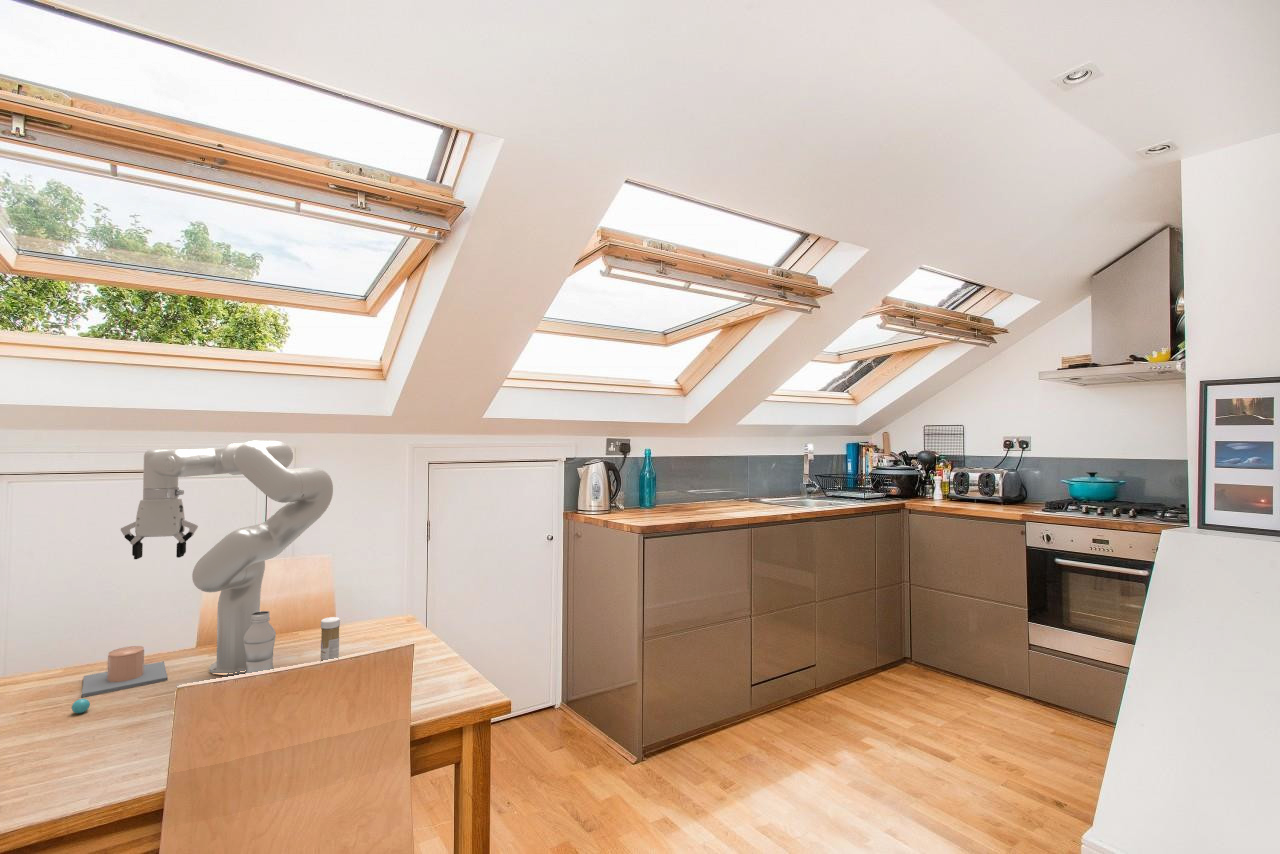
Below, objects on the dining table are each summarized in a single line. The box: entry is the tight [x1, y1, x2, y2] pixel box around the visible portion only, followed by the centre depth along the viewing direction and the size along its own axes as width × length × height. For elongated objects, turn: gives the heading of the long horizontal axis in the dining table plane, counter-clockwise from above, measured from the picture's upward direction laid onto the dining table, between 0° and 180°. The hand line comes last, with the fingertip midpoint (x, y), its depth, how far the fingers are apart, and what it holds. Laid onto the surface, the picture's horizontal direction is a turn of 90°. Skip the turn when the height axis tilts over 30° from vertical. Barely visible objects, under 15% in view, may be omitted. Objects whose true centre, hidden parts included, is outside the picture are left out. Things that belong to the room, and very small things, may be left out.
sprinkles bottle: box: [320, 616, 341, 662], centre depth 163 cm, size 5×5×14 cm
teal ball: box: [71, 698, 91, 714], centre depth 137 cm, size 3×3×3 cm
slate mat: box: [81, 661, 168, 698], centre depth 155 cm, size 16×14×1 cm
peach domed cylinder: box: [107, 645, 145, 682], centre depth 155 cm, size 7×7×6 cm
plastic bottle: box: [244, 610, 277, 674], centre depth 146 cm, size 6×7×20 cm
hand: (159, 557), depth 168 cm, fingers open, 9 cm apart
